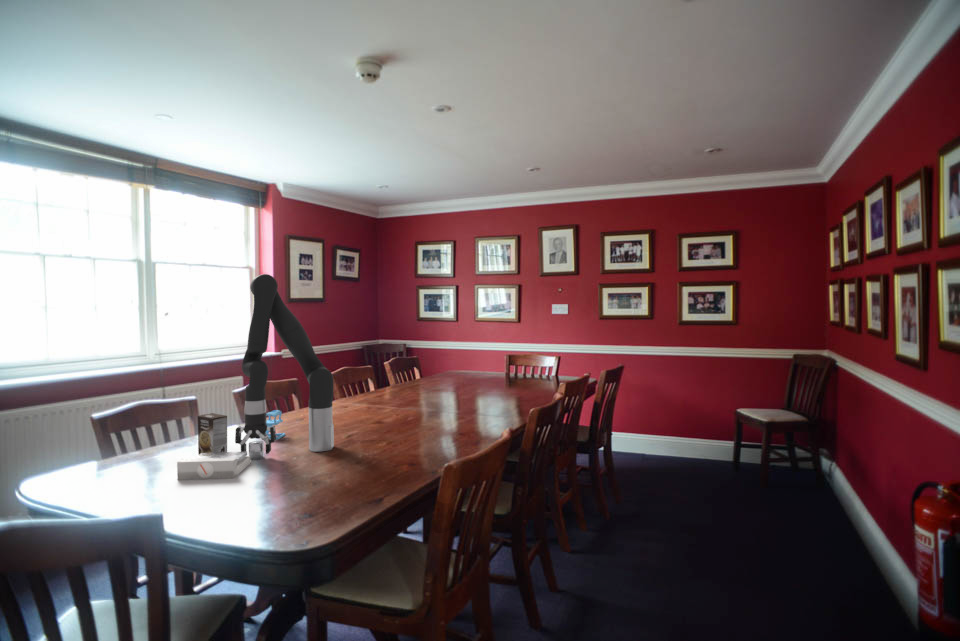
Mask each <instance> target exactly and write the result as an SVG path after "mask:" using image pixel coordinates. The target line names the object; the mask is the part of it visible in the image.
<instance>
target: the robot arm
mask: <svg viewBox="0 0 960 641" xmlns="http://www.w3.org/2000/svg"><path fill="white" fill-rule="evenodd" d="M249 287H250V288H249V289H250V292H251V294H252V295H253V311H252V315H251V316H252V318H251V321H250V324H249V329H248V330H249V331H248V336H247V346H246V347H247V348H246V351H245V353H244V356H243V359H242V362H241V370H242V373H243V374H244V376H246V377H248V378H249V382H248V384H247V385H246V387H245V390H244V409H243V410H244V426H238V427H236V428H235V438H234V442H235V444H239V445H240V452H247V442H248V440H249V439H261V441H263V442H264V443H265V454H266V455H268V454H270V452H272V451H271V450H272V444H273V443H275V442H276V441H277V440H276V437H277V436H276V432H277V431H276V425H272V427H267V425H266V421H267V416H266V414H267V401H266V387H267V382H268V379H269V378H268V377H269V366H268V364H267V363H266V362H265V361H264V360H262V358H263V354H264V353H266V352H267V350H268V344H269V337H270V336H269V334H270V326H271V325H270V323H271V324H272V325H273V327H274V329H275V331H276V332H277V334H278V336H279V338H280V339H281V341H282V342H283V344H284V346H285V348H287V350H288V351H289V353H290V354H291V355H292V357H294V359H295V360H296V361H297V362H298V364H299V366H300V368H301V370H302V371H303V373H304V376H305V378H306V380H307V382H308V384H309V398H308V450H309V452H315V453H316V452H325V451H332V450H333V448H334V447H335V435H334V434H335V432H334V431H335V430H334V429H335V427H334V426H335V424H334V423H333V401H334V376H333V375H334V374H333V373H332V372H331V371H330V369H328V368H327V367H326V366H325V365H324V364H323V363H322V362H321V360H320V359H319V356H317V354H316V353H315V350H314V348H313V345H312V342H311V340H310V338H309V336H308V334H307V332H306V331H305V328H304V327H303V325H302V324H301V322H300V321H299V319H298V318H297V317H296V315H295V314H294V313H293V312H292V311H291V310H290V309H289V307H287V306H286V304H285V302H284V300H283V299H282V298H281V295H280V293H279V291H278V288H279V286H278V282H277V280H276V278H275V277H274V276H272V275H270V274H267V273H264V274H262V273H261V274H259V275H257V276H256V277H254V278H253V279H252V280H251V282H250V286H249ZM267 430H268V431H269V434H270V435H271V439H270V438H269V437H268V435H267V434H266V433H265V432H266V431H267ZM243 432H244V433H245V436H244V437H243V438H242V433H243Z"/></svg>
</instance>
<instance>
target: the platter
mask: <svg viewBox="0 0 960 641" xmlns="http://www.w3.org/2000/svg"><path fill="white" fill-rule="evenodd" d="M245 456H248V451H246V452H241V451H227V452H218V453H201V454H198V455H196V456H195V457H193V458H192V459H213V458H237V463H238V462H239V461H241V460H242V459H243V458H244V457H245Z"/></svg>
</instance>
